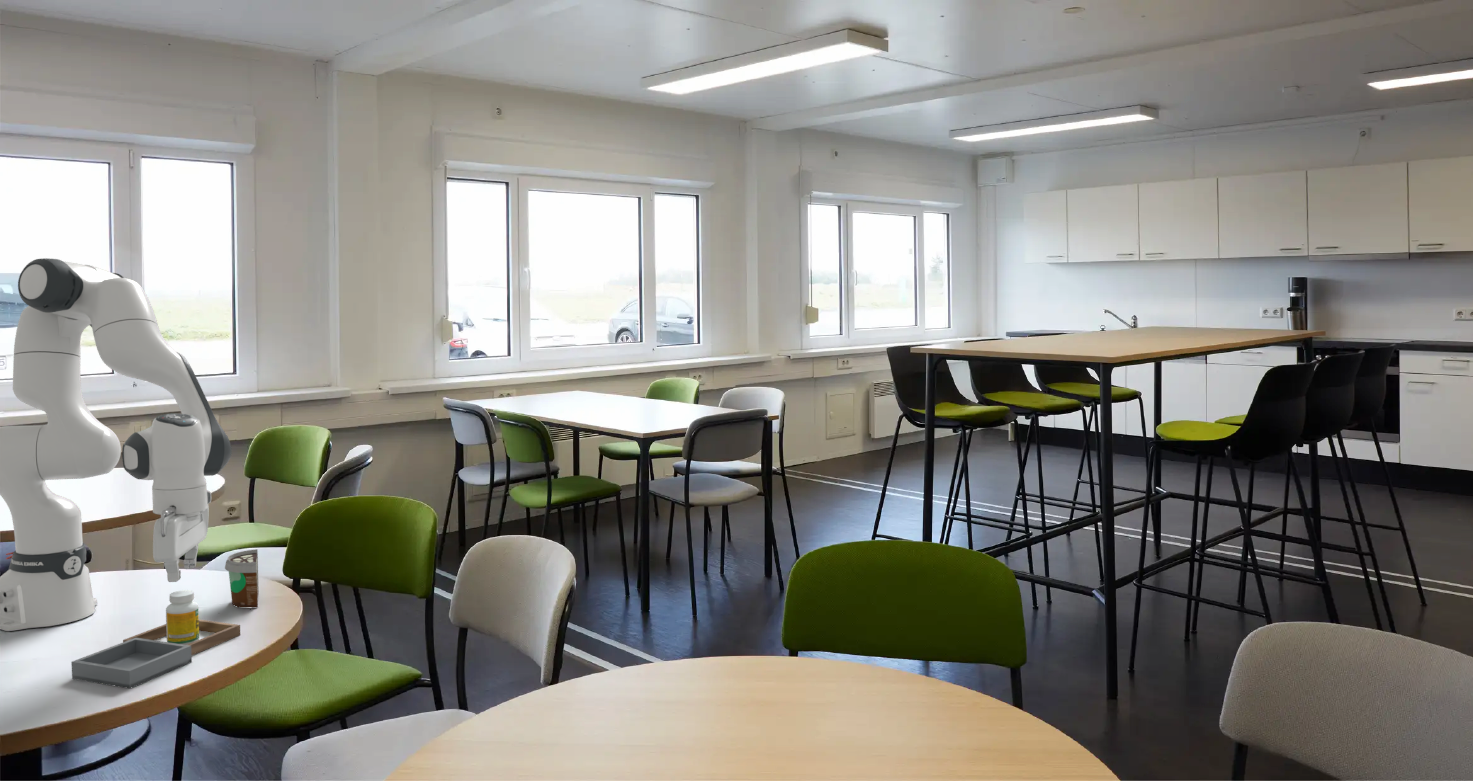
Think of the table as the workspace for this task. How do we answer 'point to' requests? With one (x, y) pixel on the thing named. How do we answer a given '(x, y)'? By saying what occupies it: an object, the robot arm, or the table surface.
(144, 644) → the tray
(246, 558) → the food container
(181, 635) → the supplement bottle
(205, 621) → the wooden square frame
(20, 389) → the robot arm
